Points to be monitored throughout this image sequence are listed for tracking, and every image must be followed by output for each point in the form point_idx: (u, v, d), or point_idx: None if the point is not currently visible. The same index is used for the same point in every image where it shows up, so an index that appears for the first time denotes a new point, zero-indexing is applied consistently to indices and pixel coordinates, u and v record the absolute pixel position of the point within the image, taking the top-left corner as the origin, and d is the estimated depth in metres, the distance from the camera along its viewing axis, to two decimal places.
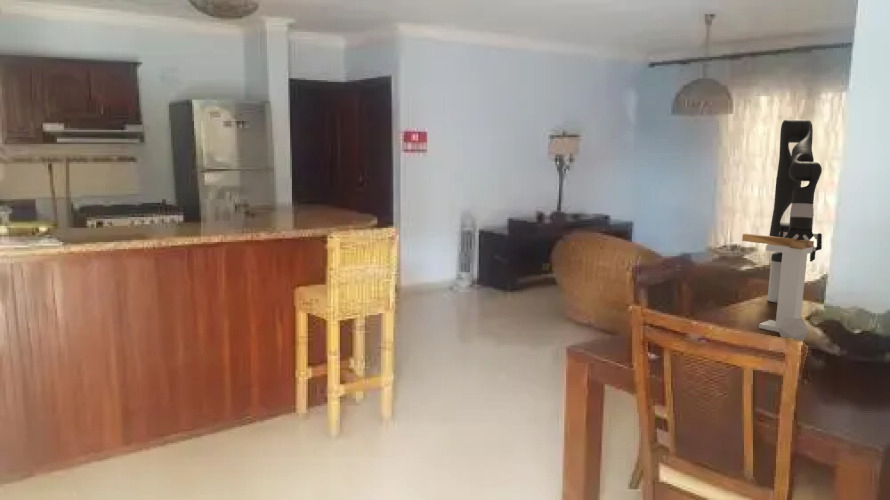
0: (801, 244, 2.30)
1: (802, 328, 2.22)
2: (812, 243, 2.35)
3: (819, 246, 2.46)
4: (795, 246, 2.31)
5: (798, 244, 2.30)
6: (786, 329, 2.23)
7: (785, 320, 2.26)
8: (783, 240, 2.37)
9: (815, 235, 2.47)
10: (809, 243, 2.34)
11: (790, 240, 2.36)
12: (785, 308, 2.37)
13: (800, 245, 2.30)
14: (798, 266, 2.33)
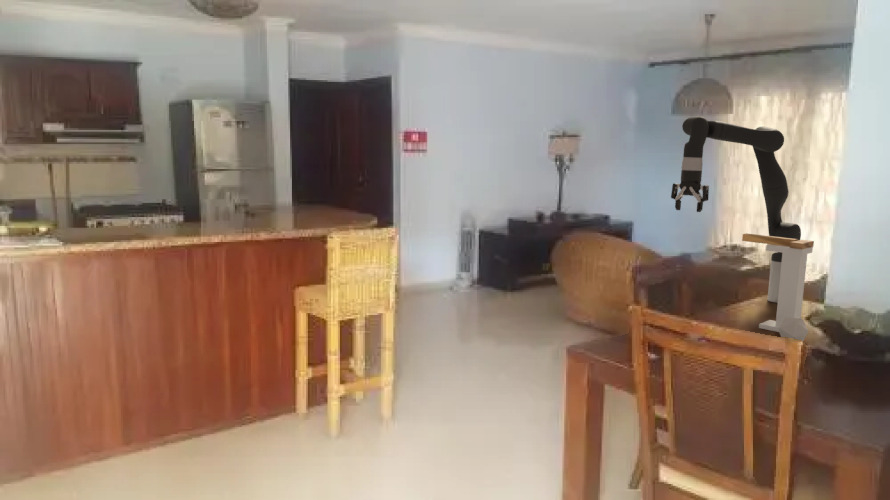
0: (801, 244, 2.30)
1: (802, 328, 2.22)
2: (812, 243, 2.35)
3: (703, 197, 2.60)
4: (795, 246, 2.31)
5: (798, 244, 2.30)
6: (786, 329, 2.23)
7: (785, 320, 2.26)
8: (783, 240, 2.37)
9: (702, 187, 2.61)
10: (809, 243, 2.34)
11: (790, 240, 2.36)
12: (785, 308, 2.37)
13: (800, 245, 2.30)
14: (798, 266, 2.33)
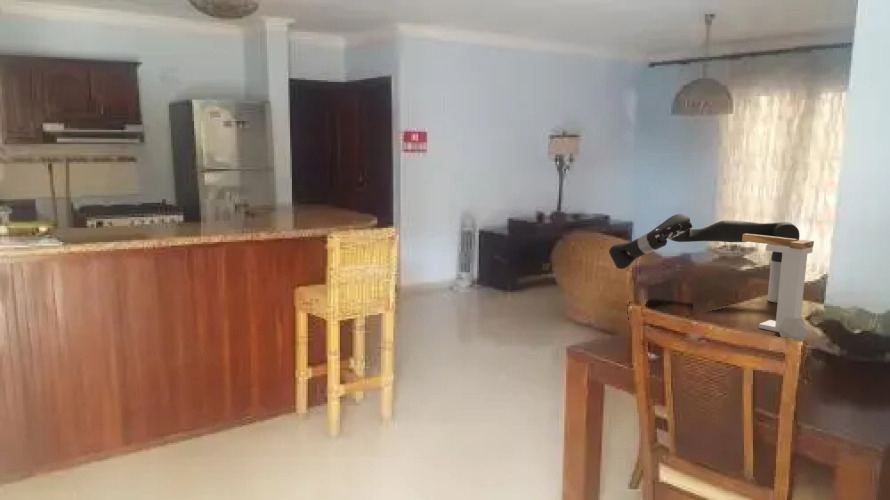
0: (801, 244, 2.30)
1: (802, 328, 2.22)
2: (812, 243, 2.35)
3: None
4: (795, 246, 2.31)
5: (798, 244, 2.30)
6: (786, 329, 2.23)
7: (785, 320, 2.26)
8: (783, 240, 2.37)
9: None
10: (809, 243, 2.34)
11: (790, 240, 2.36)
12: (785, 308, 2.37)
13: (800, 245, 2.30)
14: (798, 266, 2.33)
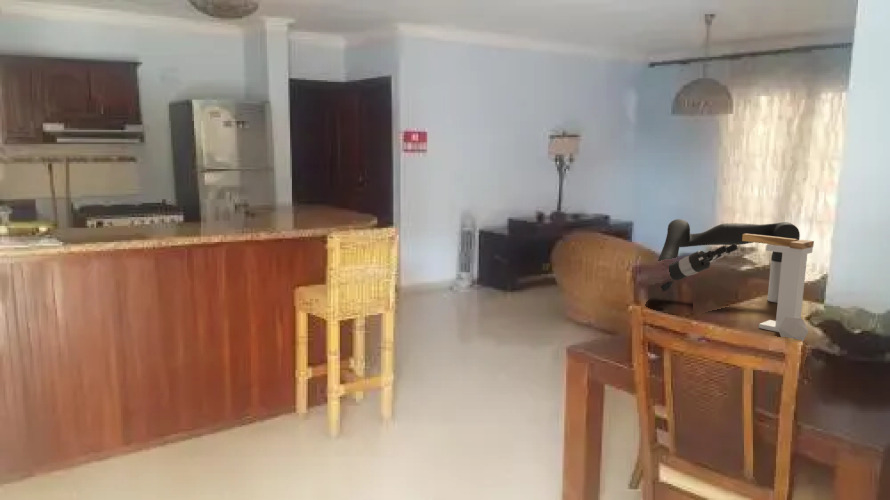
0: (801, 244, 2.30)
1: (802, 328, 2.22)
2: (812, 243, 2.35)
3: None
4: (795, 246, 2.31)
5: (798, 244, 2.30)
6: (786, 329, 2.23)
7: (785, 320, 2.26)
8: (783, 240, 2.37)
9: None
10: (809, 243, 2.34)
11: (790, 240, 2.36)
12: (785, 308, 2.37)
13: (800, 245, 2.30)
14: (798, 266, 2.33)
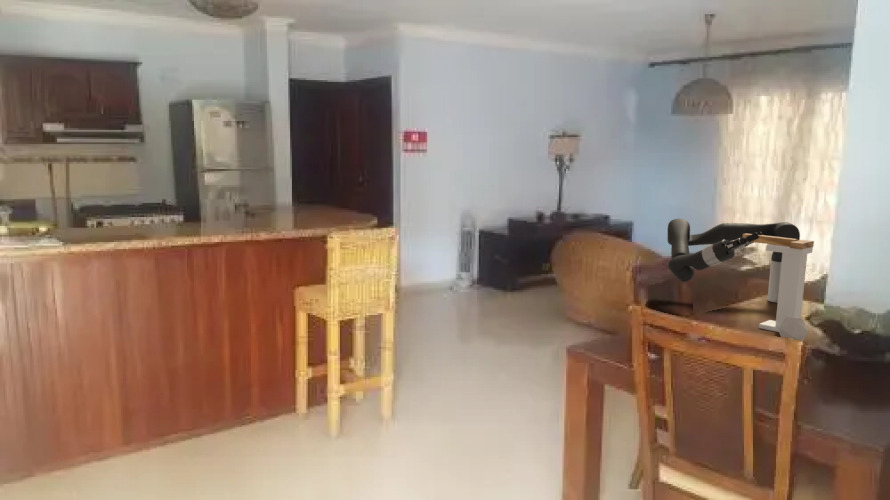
0: (801, 244, 2.30)
1: (802, 328, 2.22)
2: (812, 243, 2.35)
3: None
4: (795, 246, 2.31)
5: (798, 244, 2.30)
6: (786, 329, 2.23)
7: (785, 320, 2.26)
8: (783, 240, 2.37)
9: None
10: (809, 243, 2.34)
11: (790, 240, 2.36)
12: (785, 308, 2.37)
13: (800, 245, 2.30)
14: (798, 266, 2.33)
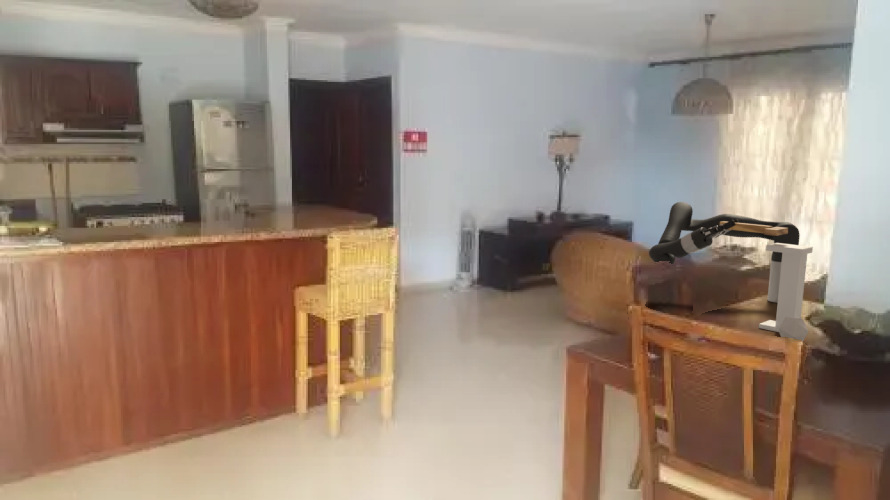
0: (775, 231, 2.35)
1: (802, 328, 2.22)
2: (786, 230, 2.41)
3: None
4: (769, 233, 2.37)
5: (772, 231, 2.36)
6: (786, 329, 2.23)
7: (785, 320, 2.26)
8: (758, 227, 2.43)
9: None
10: (783, 230, 2.39)
11: (765, 227, 2.41)
12: (785, 308, 2.37)
13: (774, 232, 2.36)
14: (798, 266, 2.33)
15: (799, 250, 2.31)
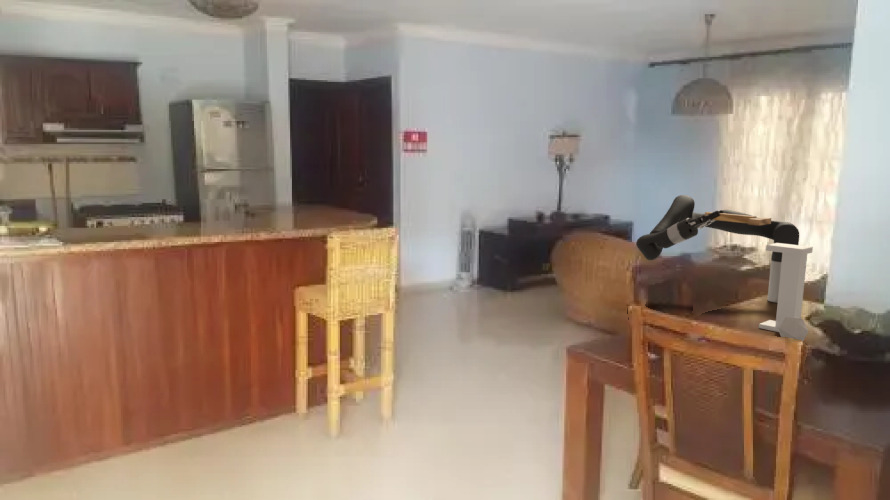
0: (758, 220, 2.40)
1: (802, 328, 2.22)
2: (769, 220, 2.45)
3: None
4: (752, 222, 2.41)
5: (755, 220, 2.40)
6: (786, 329, 2.23)
7: (785, 320, 2.26)
8: (742, 217, 2.47)
9: None
10: (766, 220, 2.43)
11: (748, 217, 2.45)
12: (785, 308, 2.37)
13: (757, 221, 2.40)
14: (798, 266, 2.33)
15: (799, 250, 2.31)
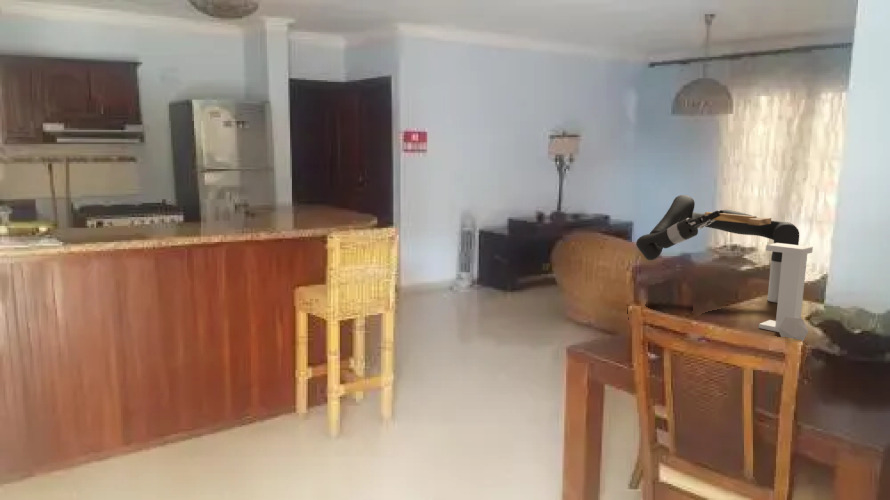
0: (758, 220, 2.40)
1: (802, 328, 2.22)
2: (769, 220, 2.45)
3: None
4: (752, 222, 2.41)
5: (755, 220, 2.40)
6: (786, 329, 2.23)
7: (785, 320, 2.26)
8: (742, 217, 2.47)
9: None
10: (766, 220, 2.43)
11: (748, 217, 2.45)
12: (785, 308, 2.37)
13: (757, 221, 2.40)
14: (798, 266, 2.33)
15: (799, 250, 2.31)
